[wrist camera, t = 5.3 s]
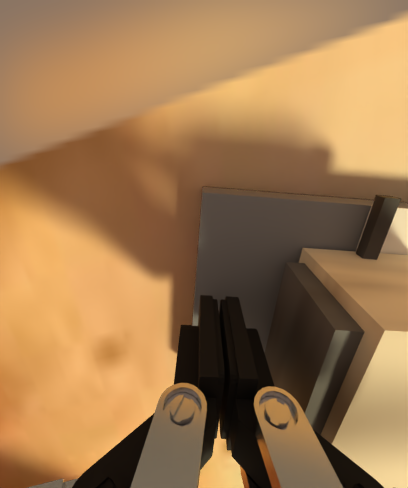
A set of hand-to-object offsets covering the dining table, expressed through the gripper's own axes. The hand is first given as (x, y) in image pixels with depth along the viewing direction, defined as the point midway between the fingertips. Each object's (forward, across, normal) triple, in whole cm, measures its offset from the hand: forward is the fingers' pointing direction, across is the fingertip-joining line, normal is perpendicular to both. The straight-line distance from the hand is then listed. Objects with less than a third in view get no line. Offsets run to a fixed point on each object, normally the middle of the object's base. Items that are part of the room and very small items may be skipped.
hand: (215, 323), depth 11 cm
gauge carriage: (+1, -6, -1) cm, 6 cm away
